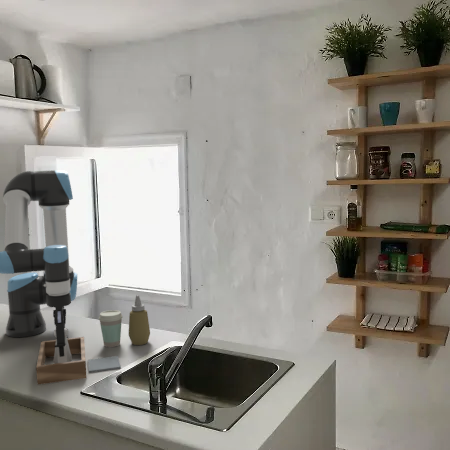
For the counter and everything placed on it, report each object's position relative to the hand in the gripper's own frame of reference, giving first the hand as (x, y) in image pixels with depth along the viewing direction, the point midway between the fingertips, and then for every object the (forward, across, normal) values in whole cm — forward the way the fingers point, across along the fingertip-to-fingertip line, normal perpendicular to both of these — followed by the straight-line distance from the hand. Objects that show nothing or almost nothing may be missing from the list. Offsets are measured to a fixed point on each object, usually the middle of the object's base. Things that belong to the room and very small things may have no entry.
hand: (62, 361), depth 165 cm
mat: (+2, +3, +13) cm, 13 cm away
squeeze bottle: (+2, -14, +27) cm, 30 cm away
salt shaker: (+2, 0, 0) cm, 2 cm away
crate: (+2, 0, 0) cm, 2 cm away
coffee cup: (+2, -16, +17) cm, 23 cm away
